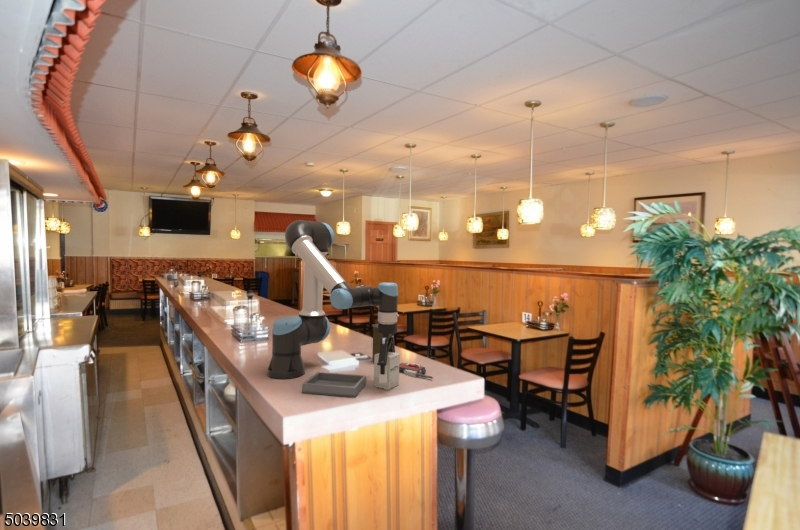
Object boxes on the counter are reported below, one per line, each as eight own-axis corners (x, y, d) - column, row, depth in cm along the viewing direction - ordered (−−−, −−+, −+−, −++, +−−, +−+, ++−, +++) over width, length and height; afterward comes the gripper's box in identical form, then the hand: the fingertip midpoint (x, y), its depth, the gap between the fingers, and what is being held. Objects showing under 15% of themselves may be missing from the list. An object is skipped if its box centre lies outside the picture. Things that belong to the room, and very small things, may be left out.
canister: (393, 359, 198) (394, 318, 197) (394, 365, 188) (395, 322, 187) (371, 359, 198) (372, 318, 197) (370, 365, 187) (371, 321, 187)
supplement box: (389, 390, 153) (389, 357, 153) (373, 386, 157) (373, 354, 157) (399, 385, 160) (400, 353, 159) (383, 381, 164) (384, 350, 163)
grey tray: (302, 393, 148) (302, 383, 148) (317, 380, 163) (317, 371, 163) (355, 397, 145) (355, 388, 145) (366, 384, 159) (366, 375, 159)
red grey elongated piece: (390, 373, 177) (431, 381, 166) (390, 363, 177) (431, 371, 166) (401, 368, 184) (441, 376, 173) (401, 358, 184) (441, 366, 173)
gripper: (390, 328, 145) (389, 388, 145) (402, 318, 169) (401, 368, 170) (370, 327, 146) (369, 386, 147) (385, 317, 171) (384, 367, 171)
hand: (386, 377), depth 158 cm, fingers open, 13 cm apart
